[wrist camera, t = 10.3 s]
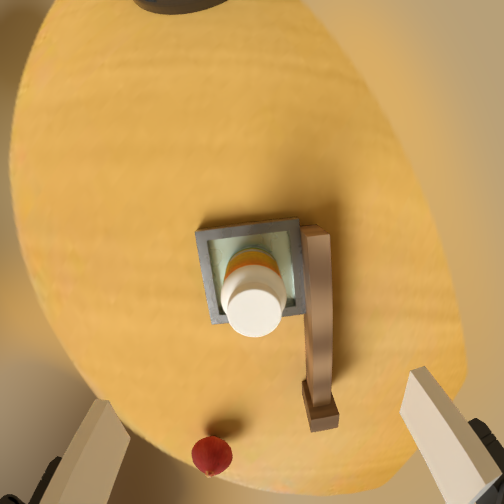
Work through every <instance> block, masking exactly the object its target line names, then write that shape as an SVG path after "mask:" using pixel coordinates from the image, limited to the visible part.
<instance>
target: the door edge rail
mask: <svg viewBox="0 0 504 504" xmlns="http://www.w3.org/2000/svg"><path fill="white" fill-rule="evenodd" d="M300 235H301V247H302V260H303V274H304V289H305V306H306V314H304V326H305V348H306V378H307V381H303V382H302V395H303V399H304V404H305V408H306V413H307V417H308V421H309V426H310V430H311V432H317V431H322V430H328V429H333V428H337V427H338V422H339V412H338V409H337V407H336V404H335V401H334V398H333V395H332V392H331V380H332V342H333V308H332V269H331V247H330V234H329V233H328V232H326V231H325V230H323V229H322V228H321V227H319V226H318V225H317V224H316V225H307V226H300Z"/></svg>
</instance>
